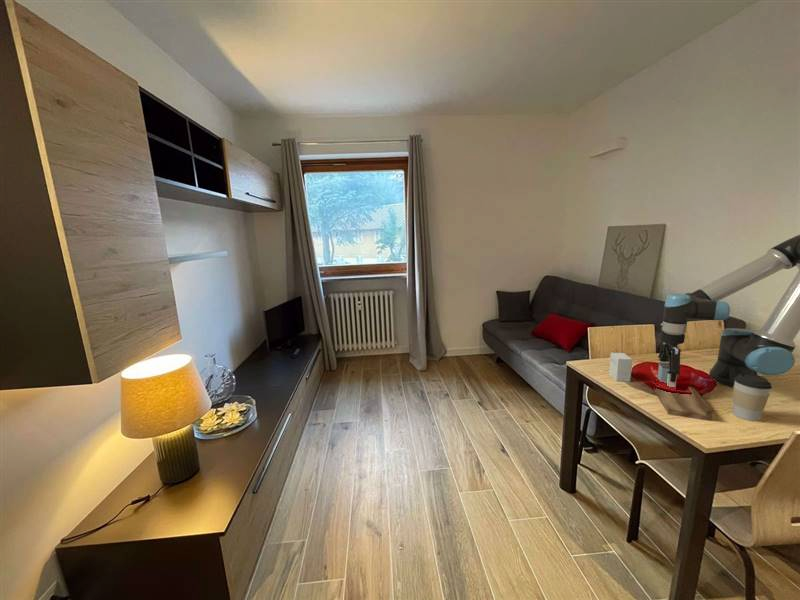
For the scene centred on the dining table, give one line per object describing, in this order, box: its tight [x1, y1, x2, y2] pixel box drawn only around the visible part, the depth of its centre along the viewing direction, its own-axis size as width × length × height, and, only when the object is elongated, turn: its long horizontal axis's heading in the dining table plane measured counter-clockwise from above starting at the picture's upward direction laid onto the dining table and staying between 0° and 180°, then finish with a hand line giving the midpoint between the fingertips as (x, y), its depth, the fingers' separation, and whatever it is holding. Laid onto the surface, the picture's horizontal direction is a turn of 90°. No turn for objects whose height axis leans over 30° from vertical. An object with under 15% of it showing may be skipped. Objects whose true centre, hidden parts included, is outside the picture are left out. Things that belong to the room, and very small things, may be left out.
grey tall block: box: [656, 361, 669, 383], centre depth 138 cm, size 6×5×10 cm
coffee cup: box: [732, 373, 773, 422], centre depth 115 cm, size 9×9×15 cm
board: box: [654, 386, 714, 422], centre depth 124 cm, size 12×19×4 cm, turn 155°
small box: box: [608, 352, 633, 382], centre depth 147 cm, size 8×6×10 cm
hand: (665, 382), depth 138 cm, fingers open, 12 cm apart
